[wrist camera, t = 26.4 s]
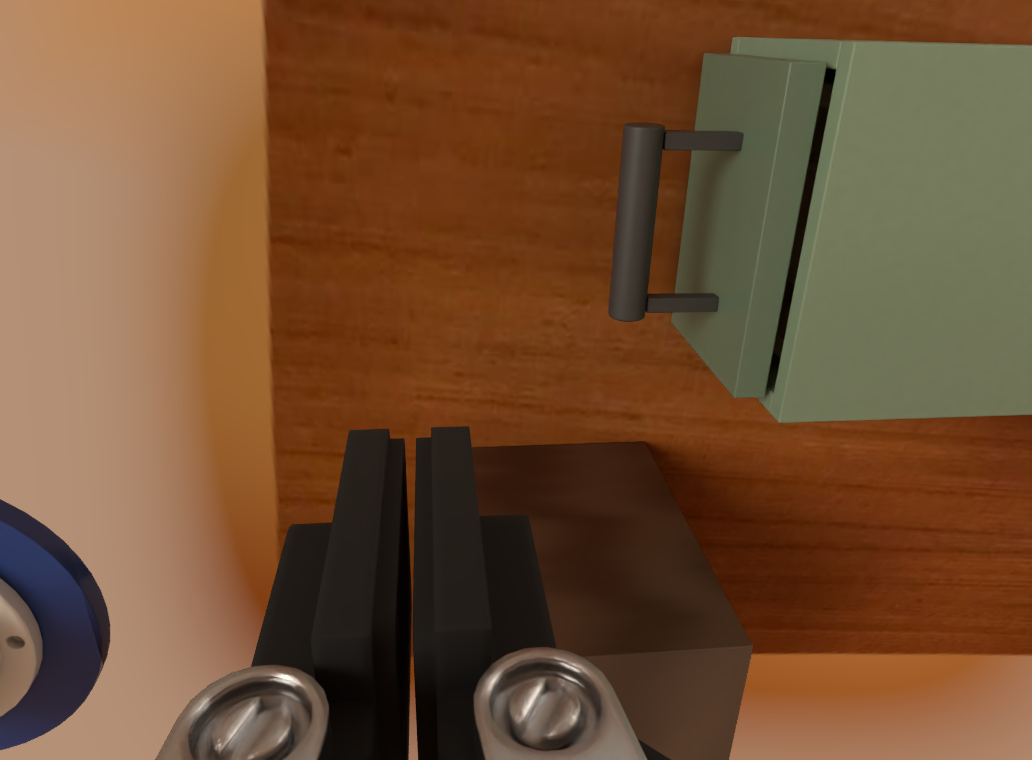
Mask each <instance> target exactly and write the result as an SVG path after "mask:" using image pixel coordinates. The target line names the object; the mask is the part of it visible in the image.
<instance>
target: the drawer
mask: <svg viewBox="0 0 1032 760" xmlns="http://www.w3.org/2000/svg"><path fill="white" fill-rule="evenodd" d="M826 67H827V63H826V62H818V61H807V60H796V59H786V58H775V57H764V56H753V55H742V54H728V53H704V57H703V65H702V73H701V82H700V90H699V98H698V106H697V114H696V123H695V131H685V130H665V127H664V126H663V125H660V124H654V123H627V124H625V125H624V130H623V142H622V154H621V166H620V178H619V190H618V202H617V214H616V226H615V238H614V250H613V262H612V274H611V286H610V298H609V310H608V314H609V316H610V317H611V318H613V319H616V320H620V321H626V322H633V321H639V320H642V319H643V318H644V317H645V311H646V312H647V313H666V312H672V319H671V323H672V324H673V325H674V326H675V328H676V329H677V330H678V331H679V332H680V334H681V335H682V336H683V337H684V338H685V340H686V341H687V342H688V343H689V344H690V346H691V347H692V348H693V349H694V350H695V352H696V353H697V354H698V355H699V356H700V358H701V359H702V360H703V361H704V362H705V364H706V365H707V366H708V367H709V368H710V370H711V371H712V372H713V373H714V374H715V376H716V377H717V378H718V379H719V380H720V382H721V383H722V384H723V385H724V386H725V388H726V389H727V390H728V391H729V393H730V394H731V395H732V396H733V397H734V398H756V397H764V396H765V392H766V386H767V381H768V376H769V370H770V365H771V360H772V354H773V352H774V353H775V354H776V355H777V356H778V357H779V358H780V359H781V354H782V349H783V343H784V338H785V333H786V328H787V323H788V317H789V312H790V307H791V302H792V297H793V292H794V286H795V285H793V284H792V283H790V282H789V281H787V275H788V269H789V264H790V259H791V253H792V248H793V243H794V237H795V232H796V227H797V221H798V216H799V211H800V205H801V200H802V195H803V189H804V184H805V179H806V173H807V168H808V163H809V157H810V154H820V152H821V147H822V142H823V137H824V131H825V126H826V121H827V116H828V111H829V106H830V100H831V95H832V90H833V85H834V80H835V75H825V72H826ZM662 149H664V150H692V155H691V164H690V172H689V180H688V188H687V196H686V205H685V213H684V221H683V229H682V237H681V246H680V254H679V262H678V270H677V278H676V287H675V294H647V292H648V282H649V273H650V263H651V254H652V244H653V235H654V225H655V216H656V206H657V197H658V187H659V178H660V168H661V159H662Z"/></svg>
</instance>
